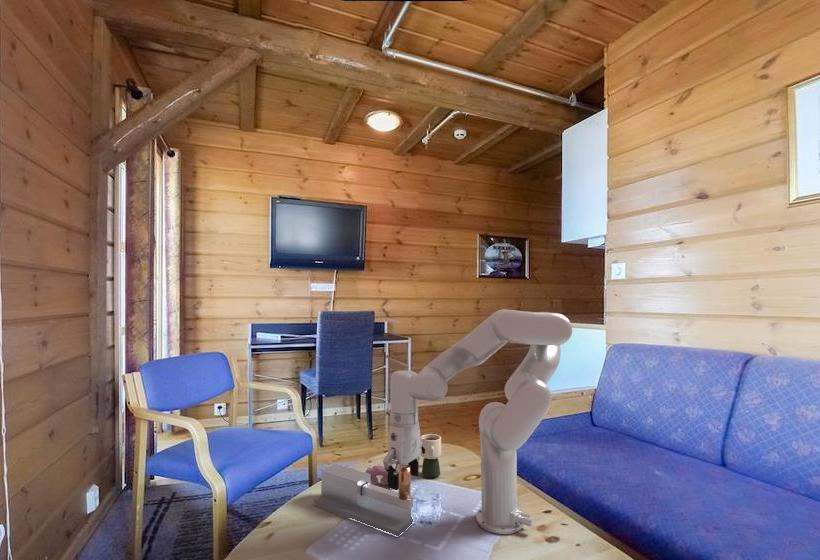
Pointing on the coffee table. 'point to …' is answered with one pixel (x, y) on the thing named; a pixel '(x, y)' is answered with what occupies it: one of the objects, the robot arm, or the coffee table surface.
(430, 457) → the character mug
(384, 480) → the video game controller
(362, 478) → the block
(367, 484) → the shaft
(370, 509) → the base board
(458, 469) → the coffee table surface
